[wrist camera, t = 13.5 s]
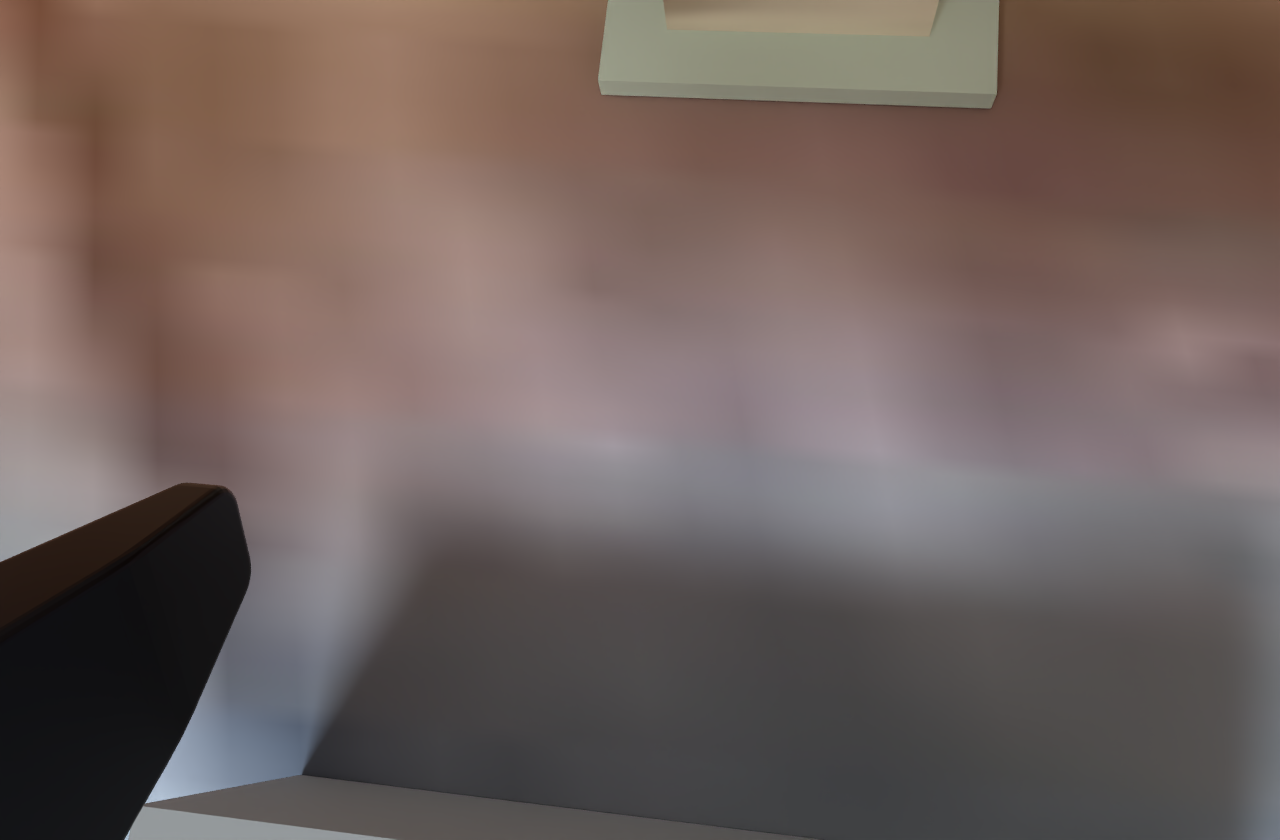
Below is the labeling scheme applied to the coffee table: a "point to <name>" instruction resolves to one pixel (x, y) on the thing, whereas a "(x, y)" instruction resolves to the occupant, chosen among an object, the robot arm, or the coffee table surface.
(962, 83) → the sage mat
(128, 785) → the robot arm
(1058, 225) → the coffee table surface
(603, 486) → the coffee table surface
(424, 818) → the slate screen
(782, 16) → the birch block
